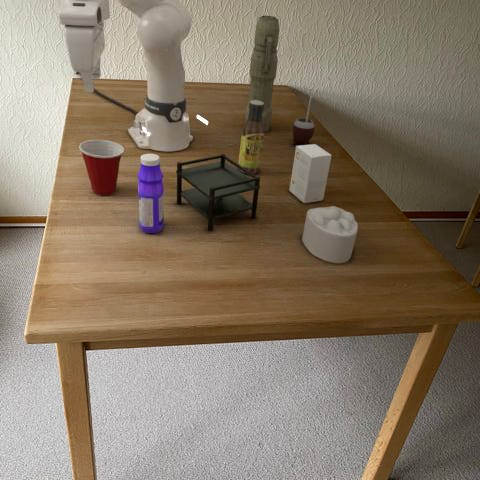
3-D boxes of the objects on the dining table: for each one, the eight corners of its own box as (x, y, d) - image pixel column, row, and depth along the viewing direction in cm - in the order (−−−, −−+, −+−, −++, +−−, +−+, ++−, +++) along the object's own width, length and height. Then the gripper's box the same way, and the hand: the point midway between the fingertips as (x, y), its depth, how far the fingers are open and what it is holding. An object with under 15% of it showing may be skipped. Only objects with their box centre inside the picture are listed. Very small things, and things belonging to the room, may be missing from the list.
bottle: (140, 219, 123) (137, 149, 113) (164, 219, 124) (163, 150, 113) (138, 234, 117) (135, 163, 107) (163, 235, 118) (162, 164, 108)
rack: (175, 203, 131) (176, 162, 125) (221, 192, 138) (223, 153, 132) (209, 231, 121) (211, 189, 115) (256, 218, 128) (261, 177, 122)
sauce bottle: (243, 176, 147) (249, 106, 135) (234, 167, 152) (240, 99, 140) (263, 174, 150) (271, 105, 138) (254, 165, 154) (261, 98, 142)
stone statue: (264, 121, 186) (276, 13, 164) (274, 134, 177) (288, 21, 156) (240, 122, 183) (249, 12, 162) (249, 134, 174) (260, 20, 153)
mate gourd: (297, 149, 167) (304, 102, 158) (285, 140, 173) (292, 94, 164) (316, 147, 170) (324, 101, 161) (304, 138, 175) (312, 93, 166)
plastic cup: (129, 199, 131) (126, 154, 124) (85, 201, 128) (80, 155, 121) (124, 180, 139) (121, 137, 132) (82, 182, 136) (77, 138, 129)
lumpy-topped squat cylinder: (335, 231, 126) (342, 199, 121) (361, 260, 117) (370, 227, 111) (297, 235, 123) (302, 203, 118) (320, 265, 114) (328, 232, 108)
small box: (323, 200, 139) (332, 155, 131) (303, 204, 137) (311, 157, 129) (307, 187, 145) (315, 143, 137) (288, 190, 142) (295, 145, 134)
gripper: (76, -3, 102) (84, 70, 111) (56, 15, 86) (68, 99, 94) (108, -2, 103) (114, 71, 111) (94, 17, 87) (102, 100, 95)
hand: (93, 84), depth 103 cm, fingers open, 8 cm apart
